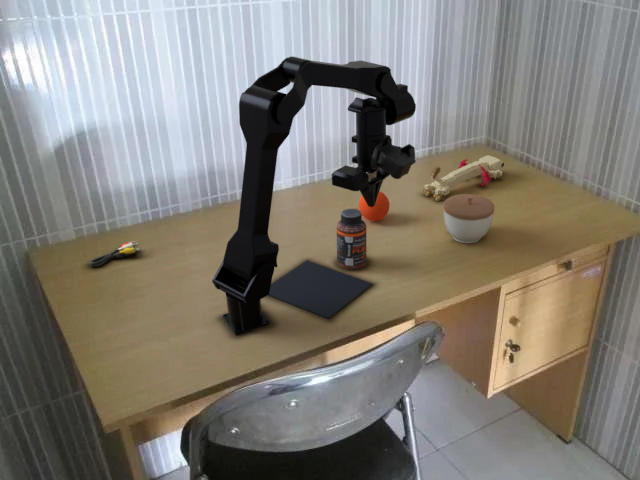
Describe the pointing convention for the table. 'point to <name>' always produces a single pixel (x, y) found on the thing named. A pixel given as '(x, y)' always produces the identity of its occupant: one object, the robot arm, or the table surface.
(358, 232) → the supplement bottle
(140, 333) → the table surface
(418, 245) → the table surface
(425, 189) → the beige blocky animal figure
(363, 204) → the clementine
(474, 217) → the trinket box
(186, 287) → the table surface
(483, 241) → the table surface
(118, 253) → the composite cable
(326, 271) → the mat
